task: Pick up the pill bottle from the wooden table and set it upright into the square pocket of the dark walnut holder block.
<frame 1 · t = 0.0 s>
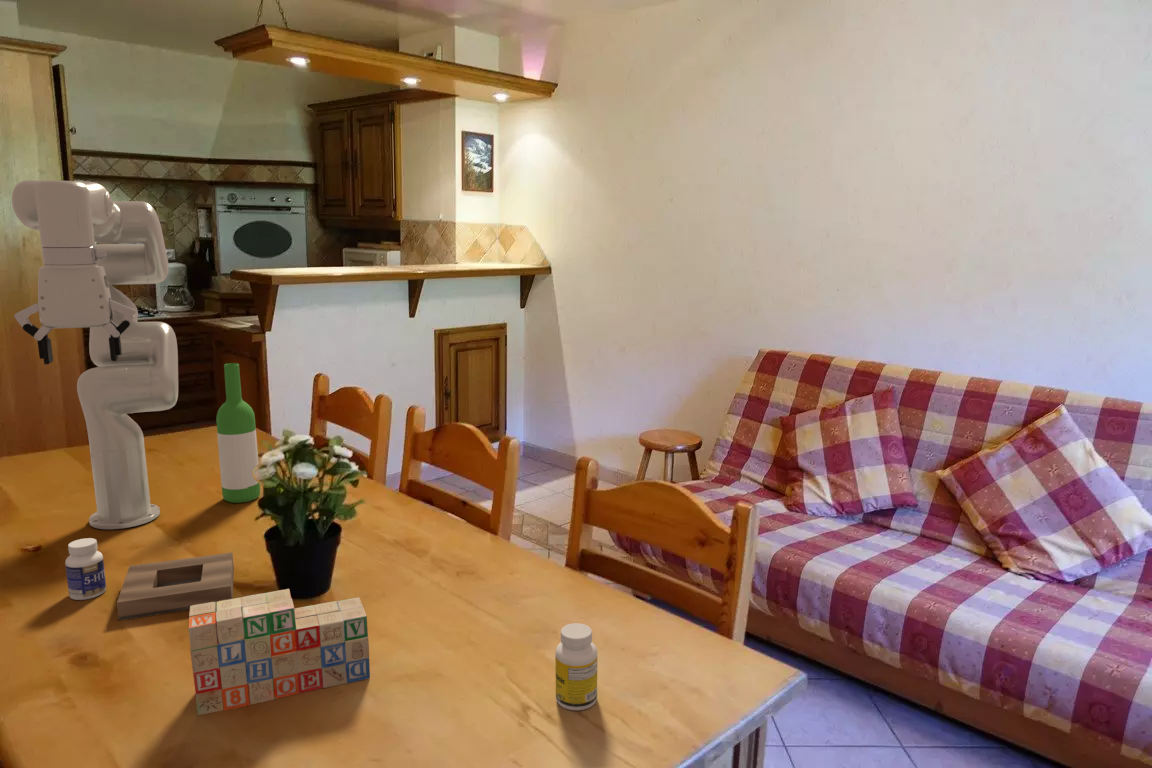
hand: (82, 361, 135), 37 cm above the table, tool pointing down, fingers open, 9 cm apart
supplement bottle: (576, 701, 104), on the table
holder block: (180, 592, 132), on the table
wine bottle: (242, 499, 177), on the table
stack of blocks: (285, 686, 107), on the table
pill bottle: (88, 594, 132), on the table
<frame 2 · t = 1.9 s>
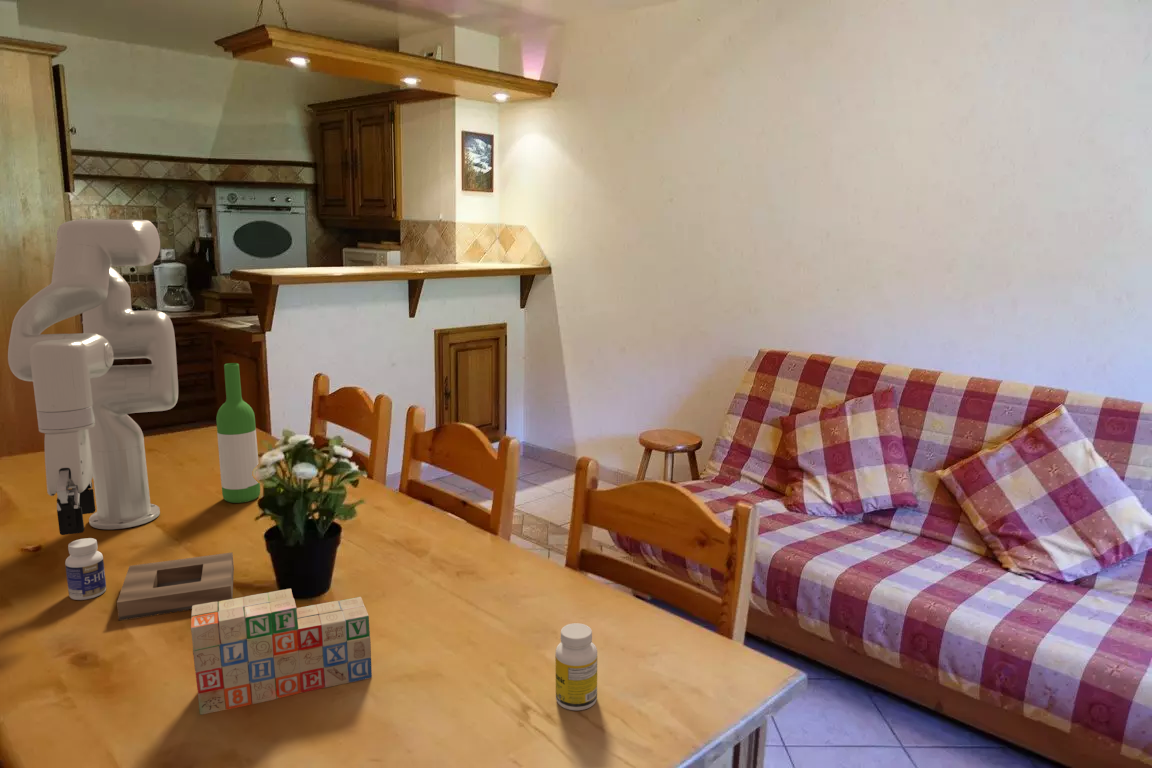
hand: (78, 523, 129), 12 cm above the table, tool pointing down, fingers open, 9 cm apart
nothing on the table moved.
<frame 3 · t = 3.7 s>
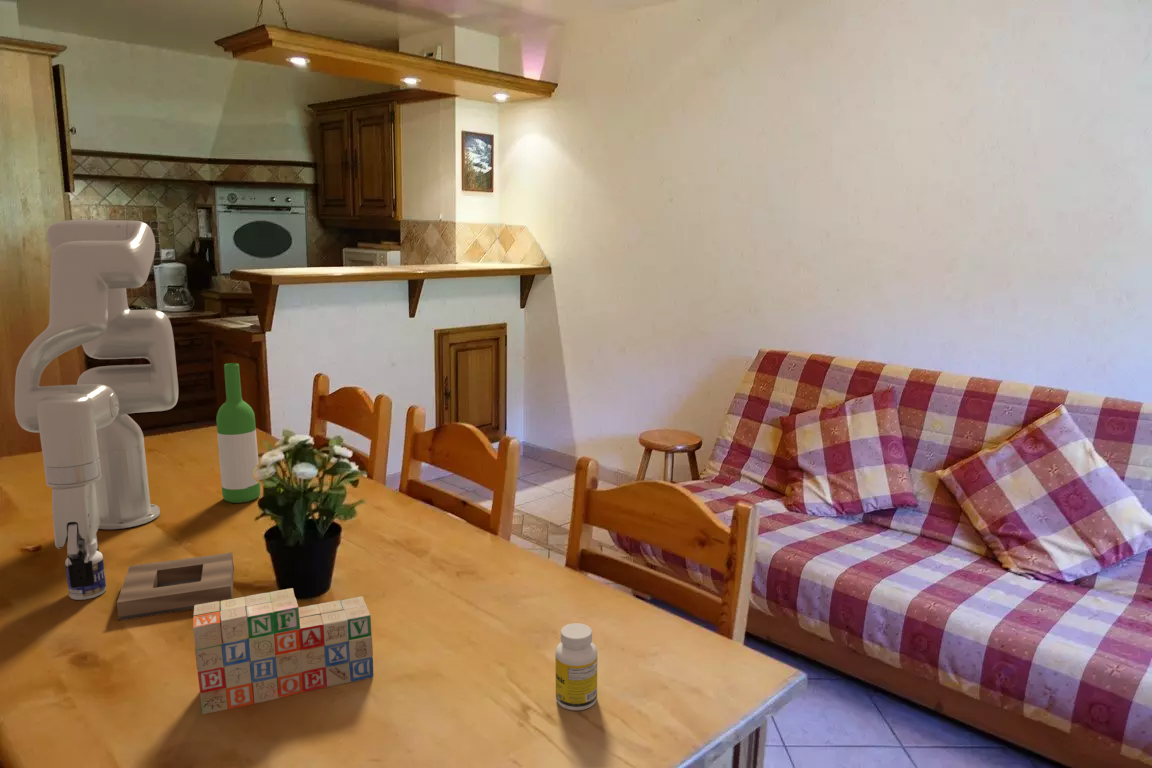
hand: (86, 576, 131), 3 cm above the table, tool pointing down, fingers closed on pill bottle, 5 cm apart
pill bottle: (88, 594, 132), on the table, touching gripper
everything else where it was.
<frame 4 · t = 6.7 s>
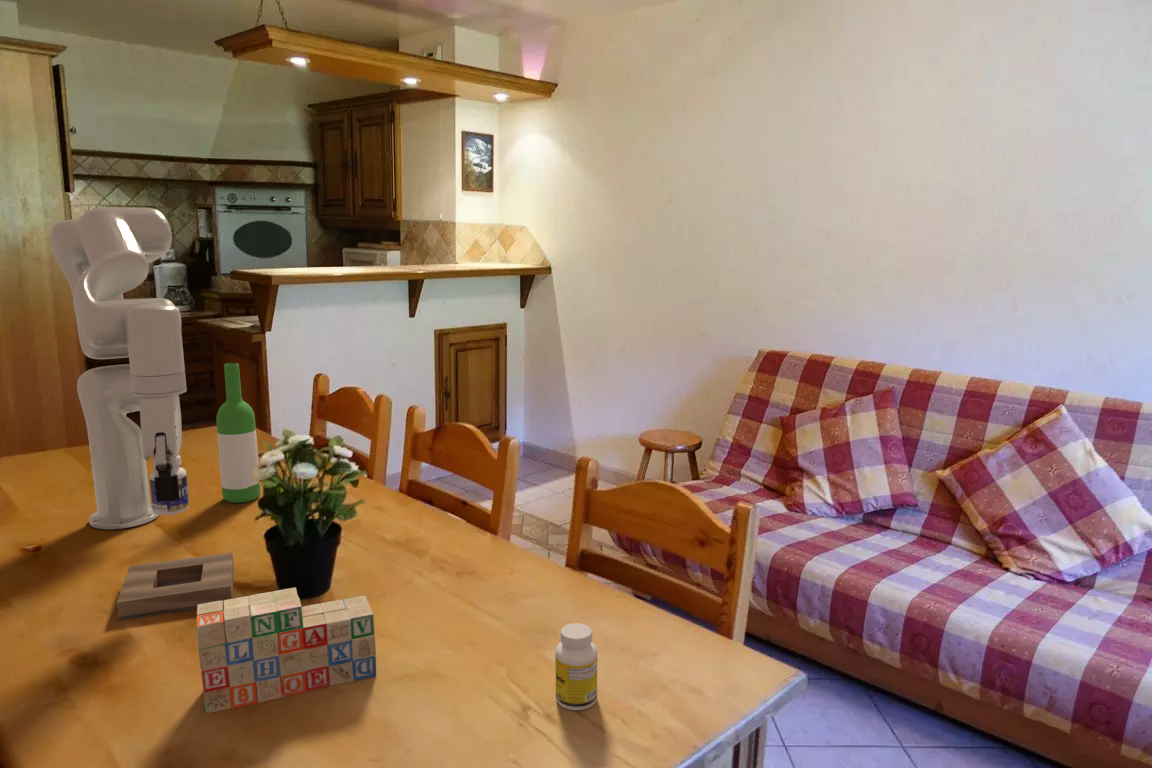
hand: (169, 493, 129), 17 cm above the table, tool pointing down, fingers closed on pill bottle, 5 cm apart
pill bottle: (171, 511, 130), point 14 cm above the table, touching gripper
everything else where it was.
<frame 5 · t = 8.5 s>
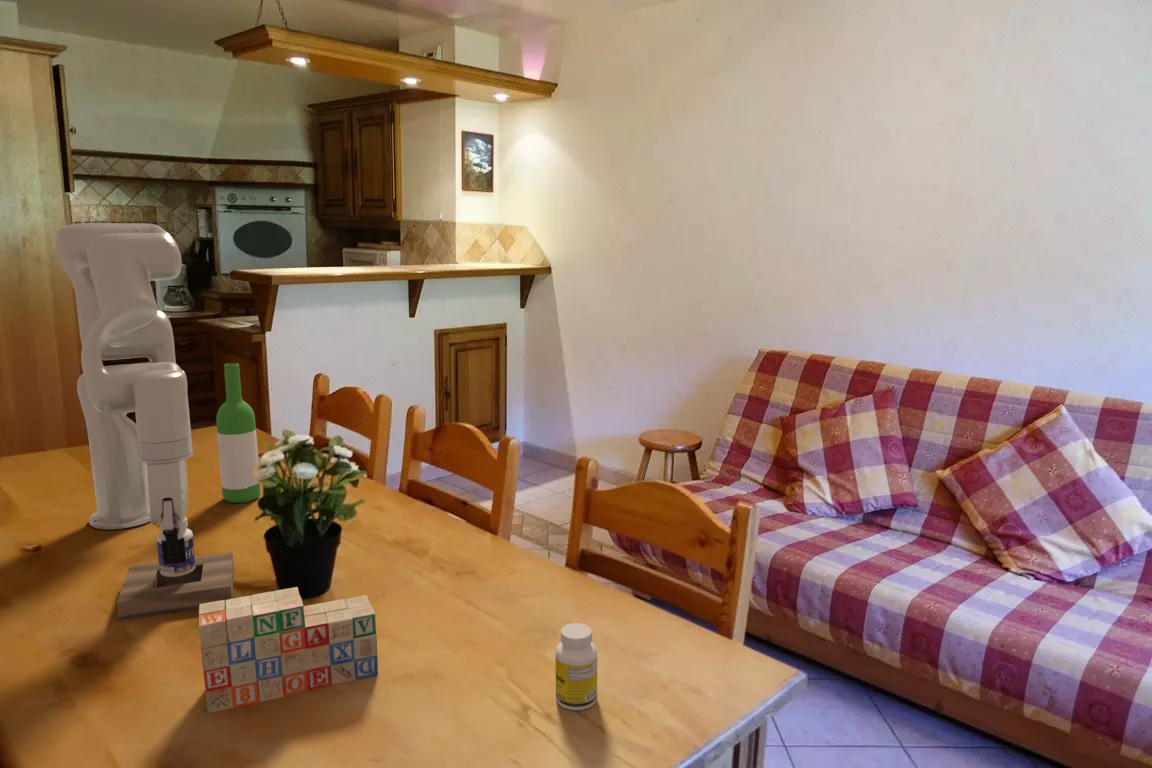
hand: (176, 554, 131), 7 cm above the table, tool pointing down, fingers closed on pill bottle, 5 cm apart
pill bottle: (178, 572, 132), point 4 cm above the table, touching gripper
when the fingers open (4 cm above the table, at t = 9.9 s): pill bottle stays where it is, resting on holder block.
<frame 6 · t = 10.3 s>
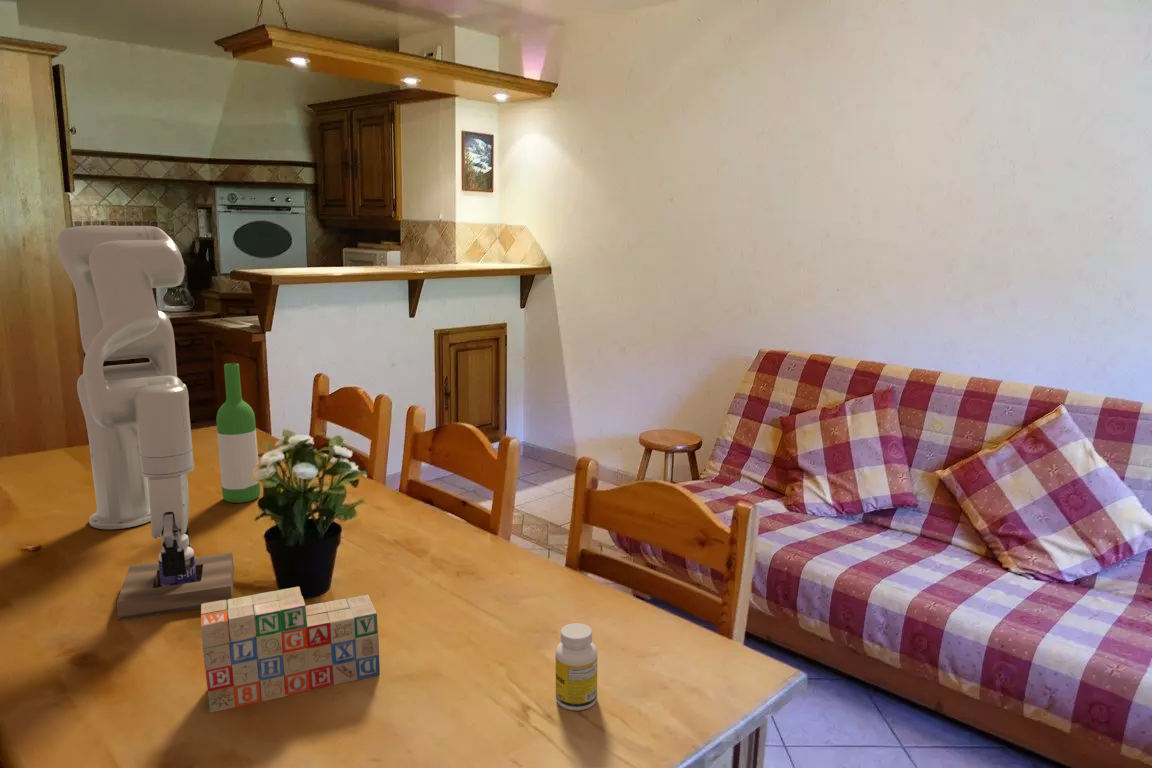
hand: (177, 562, 131), 5 cm above the table, tool pointing down, fingers open, 9 cm apart
pill bottle: (179, 589, 133), resting on holder block
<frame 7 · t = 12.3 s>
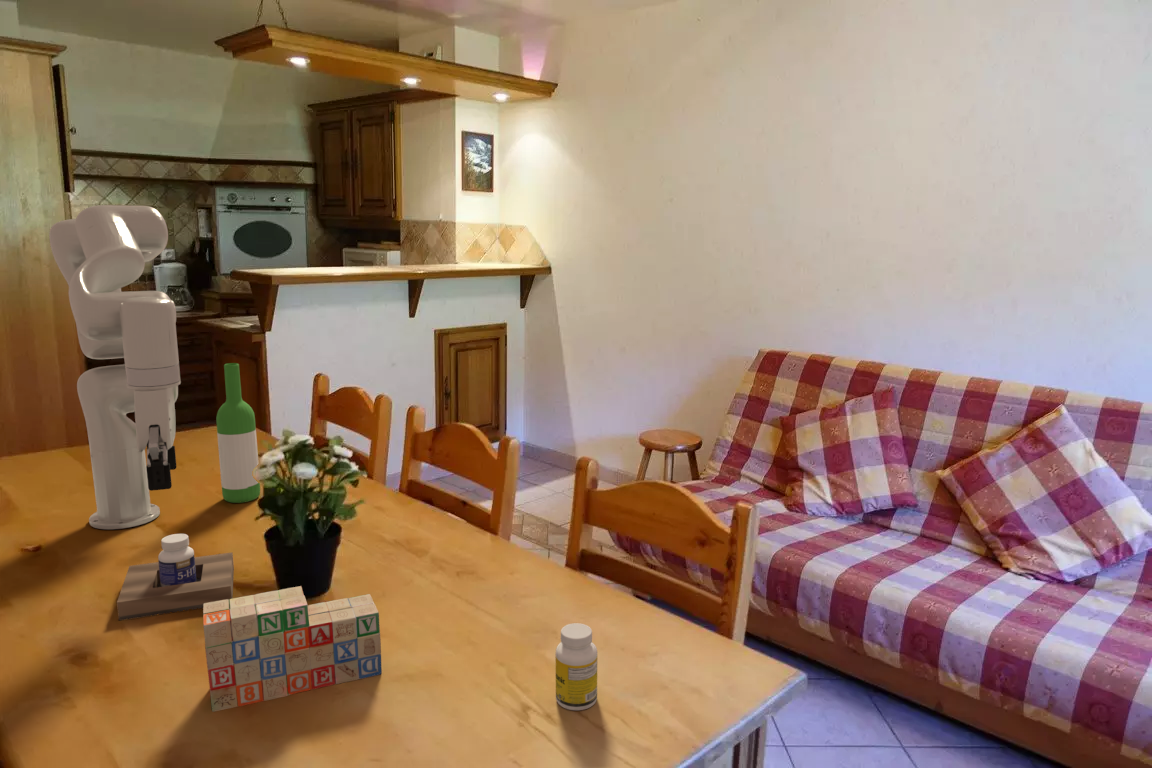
hand: (163, 479, 130), 19 cm above the table, tool pointing down, fingers open, 9 cm apart
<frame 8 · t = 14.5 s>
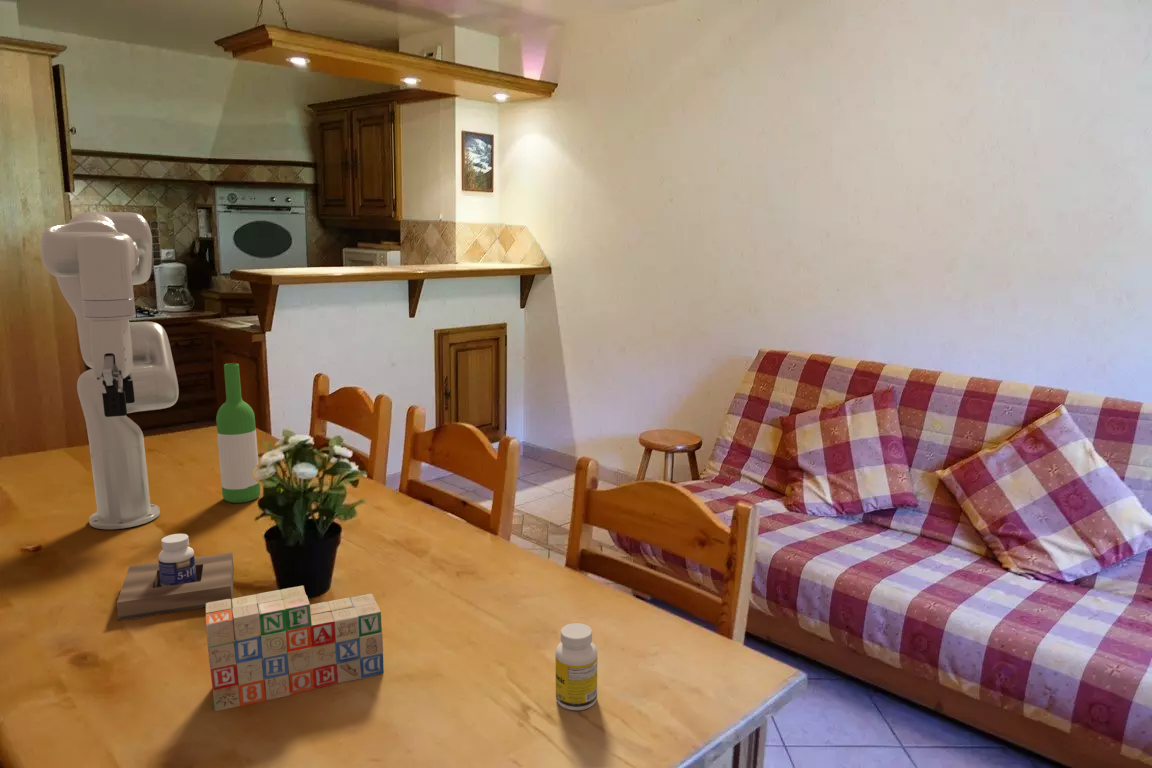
hand: (120, 409, 137), 28 cm above the table, tool pointing down, fingers open, 9 cm apart
at the end: pill bottle 0.2 cm off-centre on the holder block, point 0.4 cm above the holder block's base; pill bottle tilted 0°; the gripper is holding nothing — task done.
